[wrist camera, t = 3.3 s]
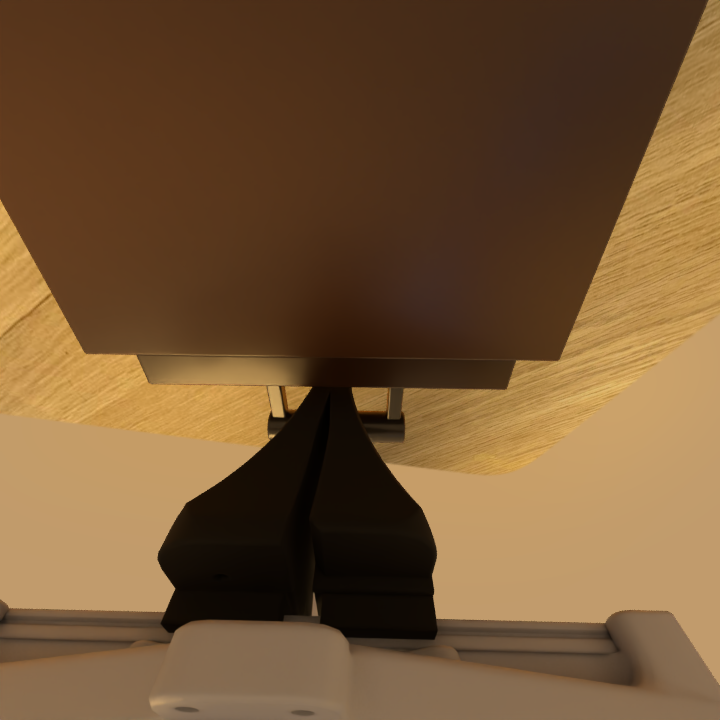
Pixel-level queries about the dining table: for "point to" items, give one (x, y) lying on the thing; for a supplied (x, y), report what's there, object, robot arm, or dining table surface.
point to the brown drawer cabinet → (328, 167)
